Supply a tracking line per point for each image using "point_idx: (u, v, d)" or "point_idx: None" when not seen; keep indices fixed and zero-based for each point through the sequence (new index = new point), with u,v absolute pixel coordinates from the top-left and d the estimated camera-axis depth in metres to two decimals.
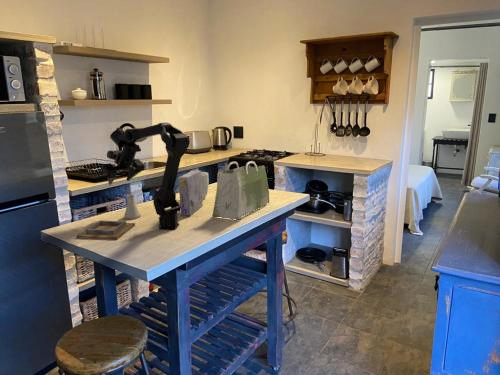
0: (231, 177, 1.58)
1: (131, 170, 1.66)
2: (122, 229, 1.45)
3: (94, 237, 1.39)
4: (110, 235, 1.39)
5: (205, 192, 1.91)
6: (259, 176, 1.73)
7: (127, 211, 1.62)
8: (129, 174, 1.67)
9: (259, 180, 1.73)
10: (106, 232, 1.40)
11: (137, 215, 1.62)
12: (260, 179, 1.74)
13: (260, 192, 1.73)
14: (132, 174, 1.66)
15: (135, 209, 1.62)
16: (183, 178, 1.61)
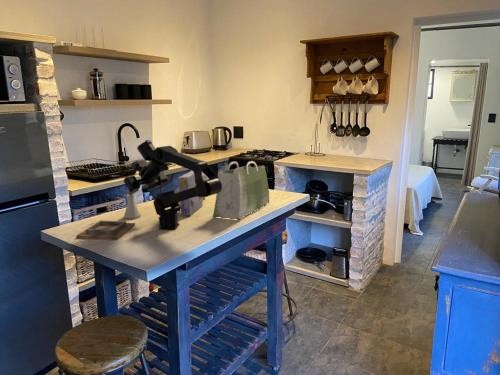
0: (232, 177, 1.58)
1: None
2: (122, 229, 1.45)
3: (94, 237, 1.39)
4: (110, 235, 1.39)
5: None
6: (259, 176, 1.73)
7: (127, 211, 1.62)
8: (150, 185, 1.60)
9: (259, 180, 1.73)
10: (106, 232, 1.40)
11: (137, 215, 1.62)
12: (260, 179, 1.74)
13: (260, 192, 1.73)
14: (154, 186, 1.59)
15: (135, 209, 1.62)
16: (183, 178, 1.61)
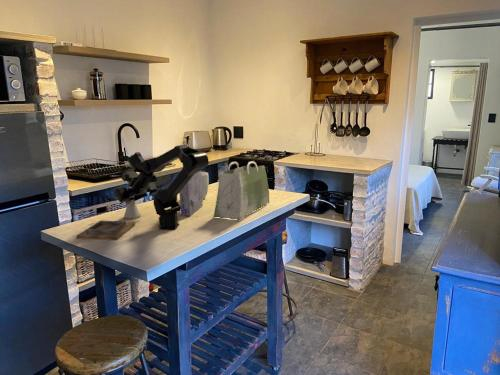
0: (233, 177, 1.58)
1: None
2: (122, 229, 1.45)
3: (94, 237, 1.39)
4: (110, 235, 1.39)
5: (205, 192, 1.91)
6: (259, 176, 1.73)
7: (127, 211, 1.62)
8: (135, 196, 1.63)
9: (260, 180, 1.73)
10: (106, 232, 1.40)
11: (137, 215, 1.62)
12: (260, 179, 1.74)
13: (261, 192, 1.73)
14: (138, 197, 1.62)
15: (135, 209, 1.62)
16: None
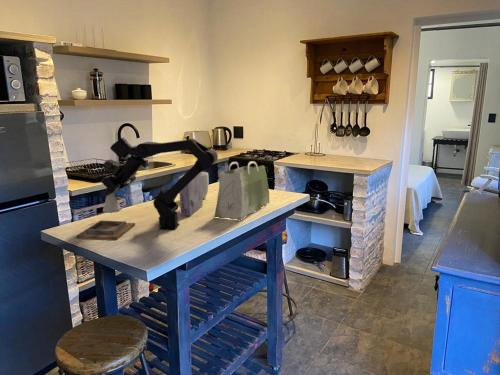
0: (234, 177, 1.58)
1: None
2: (122, 229, 1.45)
3: (94, 237, 1.39)
4: (110, 235, 1.39)
5: (205, 192, 1.91)
6: (259, 176, 1.73)
7: (108, 205, 1.49)
8: None
9: (260, 180, 1.73)
10: (106, 232, 1.40)
11: (119, 208, 1.52)
12: (261, 179, 1.74)
13: (261, 192, 1.73)
14: None
15: (116, 202, 1.51)
16: None
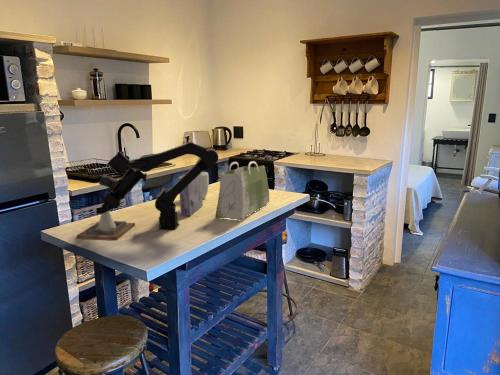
0: (234, 177, 1.57)
1: None
2: (122, 229, 1.45)
3: (94, 237, 1.39)
4: (110, 235, 1.39)
5: (205, 192, 1.91)
6: (260, 176, 1.73)
7: (105, 223, 1.43)
8: None
9: (260, 180, 1.73)
10: (106, 232, 1.40)
11: (115, 225, 1.46)
12: (261, 179, 1.74)
13: (261, 192, 1.73)
14: None
15: (112, 219, 1.46)
16: None
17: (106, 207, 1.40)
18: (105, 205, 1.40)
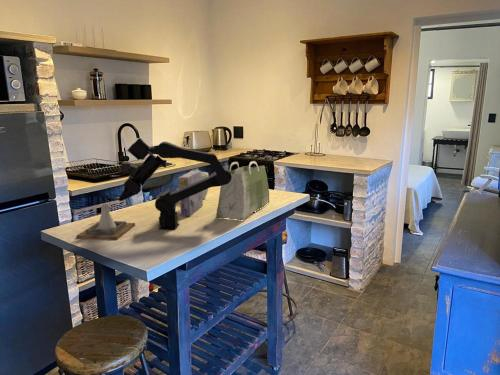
0: (235, 177, 1.57)
1: None
2: (122, 229, 1.45)
3: (94, 237, 1.39)
4: (110, 235, 1.39)
5: (205, 192, 1.91)
6: (260, 176, 1.73)
7: (105, 223, 1.43)
8: None
9: (260, 180, 1.72)
10: (106, 232, 1.40)
11: (115, 225, 1.46)
12: (261, 179, 1.74)
13: (262, 192, 1.73)
14: None
15: (112, 219, 1.46)
16: (183, 178, 1.61)
17: (126, 194, 1.39)
18: (125, 192, 1.38)
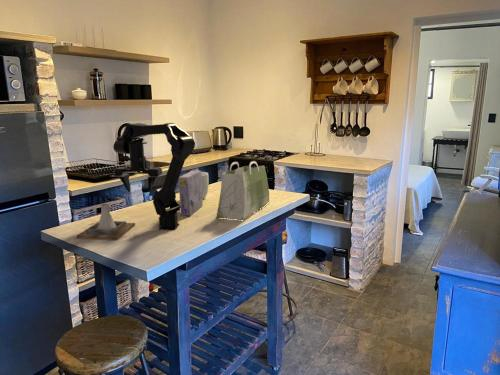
0: (236, 177, 1.57)
1: None
2: (122, 229, 1.45)
3: (94, 237, 1.39)
4: (110, 235, 1.39)
5: (205, 192, 1.91)
6: (260, 176, 1.73)
7: (105, 223, 1.43)
8: None
9: (261, 180, 1.72)
10: (106, 232, 1.40)
11: (115, 225, 1.46)
12: (261, 179, 1.74)
13: (262, 192, 1.73)
14: None
15: (112, 219, 1.46)
16: (183, 178, 1.61)
17: None
18: None
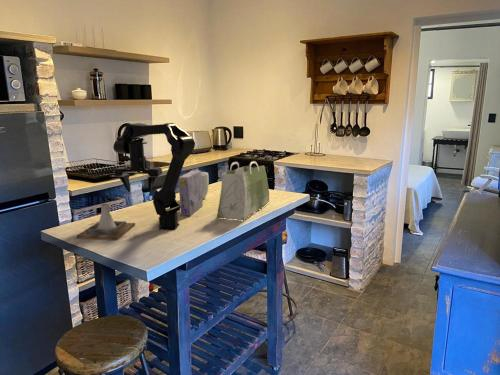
0: (236, 177, 1.57)
1: None
2: (122, 229, 1.45)
3: (94, 237, 1.39)
4: (110, 235, 1.39)
5: (205, 192, 1.91)
6: (260, 176, 1.73)
7: (105, 223, 1.43)
8: None
9: (261, 180, 1.72)
10: (106, 232, 1.40)
11: (115, 225, 1.46)
12: (261, 179, 1.74)
13: (262, 192, 1.73)
14: None
15: (112, 219, 1.46)
16: (183, 178, 1.61)
17: None
18: None
